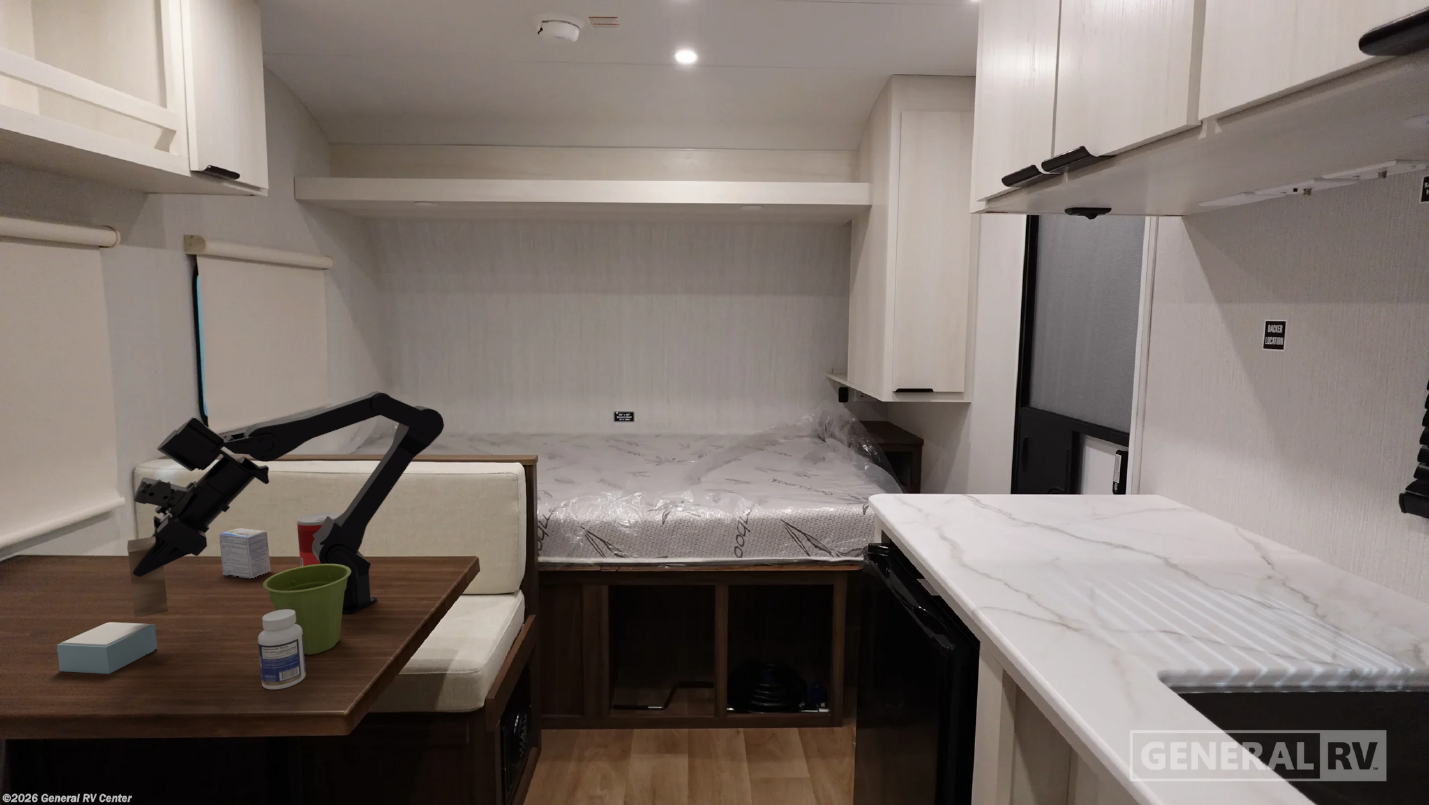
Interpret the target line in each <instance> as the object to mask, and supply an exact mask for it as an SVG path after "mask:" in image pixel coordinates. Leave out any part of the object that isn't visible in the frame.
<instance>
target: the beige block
mask: <svg viewBox="0 0 1429 805" xmlns="http://www.w3.org/2000/svg"><path fill="white" fill-rule="evenodd" d="M154 542H155V537H151V536H149V537H141V538H137V539H130V540H127V541H126V550H127V553H128V554H127V555H128V564H129V574H130V575H129V576H130V585H131V594H132V595H131V597H132V604H133V606H132V607H133V615H134V616H133V618H134V619H138V618H142V617H148V616H152V615H158V614H162V613H167V612H168V611H169V610H168V609H169V607H168V599H167V589H166V578H165V577H166V576H165V568H164V566H165V565H163V566H161V567H159V568H157V569H155V570H153V571H151V572H149V573H147V574H145V575H143V576H141V577H138V576H136V575H134V574H133V572H134V570H135V569H136V567H137V566H138V564H139V563H140V562H141V560H142V559H143V557H144V556H145V555H146V553H147V552H148V550H149V549H150V548H151V546H152V545H153V544H154Z"/></svg>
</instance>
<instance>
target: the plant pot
mask: <svg viewBox="0 0 1429 805" xmlns="http://www.w3.org/2000/svg"><path fill="white" fill-rule="evenodd" d="M350 574H351V569H350V568H349V567H347V566H344V565H339V564H316V565H308V566H302V567H301V566H298V567H294V568H289V569H286V570H283V571H280V572H277V573H276V574H272V575H271V576H270V577H268V578H267V579H265V580H264V582H263V583H262V588H263V589H264V590H265V591H267V592H268V595H269V599H270V601H271V603H272V604H273V606H274V607H273V608H274V611H277V610H283V609H290V610H294V611H295V614H296V622H295V623H294V624H297V625H299V626H300V627H301V628H302V632H303V644H304V655H309V656H311V655H317V654H320V653H322V652H325V651H328V650H330V649H331V648H334V647H335V646H336V644H337V643H338V642H339V641H340V637H341V636H340V635H341V628H342V627H341V625H342V617H343V612H342V608H343V599H344V591H345V589H346V584H347V577H349V575H350Z"/></svg>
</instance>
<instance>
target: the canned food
mask: <svg viewBox="0 0 1429 805" xmlns="http://www.w3.org/2000/svg"><path fill="white" fill-rule="evenodd" d="M340 515H341V514H340V513H337V512H316V513H311V514H307V515H303V516H300V517H298V518H297V522H296V525H297V528H296V530H297V539H298V540H297V541H298V550H299V564H300V566H299V567H302V566H308V565H316V564H321V563H320V562H319V561H318V560H317V558H316V557H315V555H314V554H313V550H312V544H313V542H314V540H315V538H314V537H313V534H315V533H316V532H317V531H318V530H319V529H320V528H321V526H322V524H323V522H324V520H325V519H326V517H327V516H329V517H330V518H332V519H333V520H335V519H336V518H337V517H339V516H340Z"/></svg>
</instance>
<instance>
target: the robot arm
mask: <svg viewBox="0 0 1429 805" xmlns="http://www.w3.org/2000/svg"><path fill="white" fill-rule="evenodd" d="M378 416H379V417H380V416H381V417H384V418H385V419H389V420H391V421H393V422H395V423H398V425H397V427H396V429H395V433H394V436H393V440H392V444H391V446H390V447H389V449H387V451H386V453H385V454H384V456H383V457H382V459H381V460H380V461H379V463H378V464H377V465H376V466H375V468H374V470H372V472H371V474H370V475H369V477H368V478H367V480H366V481H365V483H364V484H363V485H362V487H361V488H360V490H359V491H358V492H357V494H356V495H355V497H354V498H353V499H352V501H351V502H350V503H349V505H348V506H347V508H346V510H345V511H344V512H342V514H340V516H339V517H337V518H336V519H335V520H333V519H332V518H330V517H329V516H327V517H326V519H325V520H324V522H323V524H322V526H321V528H320V529H319V530H318V531H317V532H316V533H315V534H313V537H314V538H315V540H314V542H313V544H312V550H313V554H314V555H315V557H316V558H317V560H318V561H319V562H320V563H321V564H339V565H344V566H347V567H349V568H350V569H351V574H350V575H349V577H347V584H346V589H345V591H344V599H343V608H342V613H345V614H353V613H355V612H357V611H359V610H361V609H363V608H366V607H367V606H369V605H371V604H372V603H375V602H377V601H378V597H376V596H371V584H370V568H371V561H369V560H368V559H367V558H366V557H365V555H363V554H362V553H361V552H360V548H361V546H362V543H363V540H364V537H365V536H364V535H365V533H366V530H367V526H368V525H369V523H370V521H371V520H372V518H373V517H374V516H375V514H376V513H377V512H378V510H379V509H380V507H381V506H382V504H383V502H384V501H385V500H386V498H387V497H388V496H389V494H390V492H391V491H392V490H393V489H394V487H395V485H396V484H397V483H398V481H399V480H400V478H401V476H403V474H404V472H405V471H406V469H407V468H408V467H409V466H410V464H411V462H412V461H413V460H414V458H416V457H417V456H418V455H419V454H421V453H422V452H423V451H424V450H426V449H427V448H429V446H431V445H432V444H433V443H434V442H435V440H436V439H437V438H438V437H439V436H440V435H441V434H442V432H443V430H444V428H445V422H444V418H443V416H442V415H441V413H440V412H439V411H438V410H435V409H433V408H430V407H425V406H423V405H415V406H413V405H410V404H408V403H405V402H403V401H400V400H398V399H397V398H394V397H392V396H390V394H387V393H386V392H383V391H377V390H376V391H372V392H369V393H368V394H366V395H364V396H361V397H358V398H353V399H351V400H348V401H345V402H342V403H339V404H336V405H333V406H330V407H327V408H324V409H320V410H318V411H314V412H312V413H309V414H306V415H302V416H297V417H293V418H292V417H291V418H283V419H275V420H269V421H262V422H258V423H257V422H256V423H254V424H252V425H249V426H248V427H246V429H245V431H242V432H238V433H233V434H227V435H223V436H221V435H219V434H218V433H217V432H215V431H214V430H212V429H210V428H209V427H208V426H207V425H205V424H204V423H203V422H202V421H201V420H200V419H199V418H197V417H196V416H192V417H190V419H188V420H187V421H185V423H183V424H182V425H180V426H179V427H178V428H177V429H174V430H173V431H172V432H170V434H169V435H167V436H166V437H165V439H163V441H162V442H161V443H159V445H158V446H157V449H156V450H157V451H158V452H160V453H162V455H165V456H166V457H168V458H169V459H170V460H172V461H174V462H175V463H177V464H179V465H180V466H181V467H183V468H185V469H186V470H188V471H189V472H193V471H194V470H196V469H197V470H198V471H204V470H206V469H207V468H208V467H210V466H211V465H212V464H213V463H214V462H215V461H216V460H217V459H218V458H219V457H220V456H221V457H220V459H218V460H217V461H216V462H215V464H213V465H212V466H211V467H210V468H209V469H208V471H207V472H205V474H203V475H202V476H201V477H200V478H199V479H198V480H197V481H195V480H194V481H190V482H189V483H188V484H187V485H186V486H185V487H184V486H181V485H177V484H174V483H171V481H163V480H162V479H160V478H159V479H154V478H150V477H142V479H141V481H140V483H139V485H138V487H137V489H136V491H135V493H134V495H133V501H134V502H136V503H138V504H143V505H146V504H149V505H152V506H157V507H155V509H154V511H155V513H156V514H158V515H160V514H162V515H161V517H157V516H156V515H154V516H153V518H152V520H153V527H154V528H153V530H154V531H153V533H152V534H151V536H150V537H155V542H154V544H153V545H152V546H151V548H150V549H149V550H148V552H147V553H146V555H145V556H144V557H143V559H142V560H141V562H140V563H139V564H138V566H137V567H136V569H135V570H134V572H133V574H134V575H136V576H138V577H141V576H143V575H145V574H147V573H149V572H151V571H153V570H155V569H157V568H159V567H161V566H163V565H164V566H167V565H168V564H169V563H172V562H175V561H176V560H177V561H178V559H180V558H182V557H185V556H187V555H191V554H192V555H193V556H196V557H198V556H199V555H200V554H201V553H202V552H204V550H205V549H206V548H208V542H207V541H208V540H207V536H206V533H207V532H208V531H209V530H210V525H211V524H212V522H214V521H215V520H216V518H218V517H219V516H220V515H221V513H222V512H224V513H226V512H227V511H228V510H229V509H231V507H230V504H232V502H233V501H234V500H236V498H237V497H238V496H239V495H240V494H241V493H242V492H243V491H244V490H245V489H246V488H247V487H248V486H249V485H250V484H251V483H252V482H253V481H254V480H255V479H257V480H258V481H260V482H261V483H262V484H265V485H268V484H269V483H270V479H269V469H270V468H269V466H268V465H265V464H264V465H258V464H257V463H255V462H253V461H252V460H250V459H249V458H248V457H246V456H247V455H248V456H250V457H251V458H253V459H254V460H256V461H259V462H265V463H266V462H272V461H275V460H278V459H279V458H282V457H283V456H285V455H287V454H288V453H291V452H293V451H294V450H296V449H297V448H299V447H300V446H302V445H303V444H304V443H305V444H306V442H308V441H310V440H312V439H315V438H318V437H320V436H323V435H327V434H329V433H332V432H334V431H338V430H340V429H344V428H346V427H349V426H351V425H354V424H358V423H360V422H363V421H364V422H365V421H366V420H367V421H368V420H369V419H373V418H375V417H378ZM223 448H225V449H227V450H228V451H230V452H231V453H233V454H235V455H243V456H241V457H239V458H238V459H237V458H236V457H235V456H233V455H231V454H229V453H228V452H226V450H223ZM244 455H246V456H244Z"/></svg>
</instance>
